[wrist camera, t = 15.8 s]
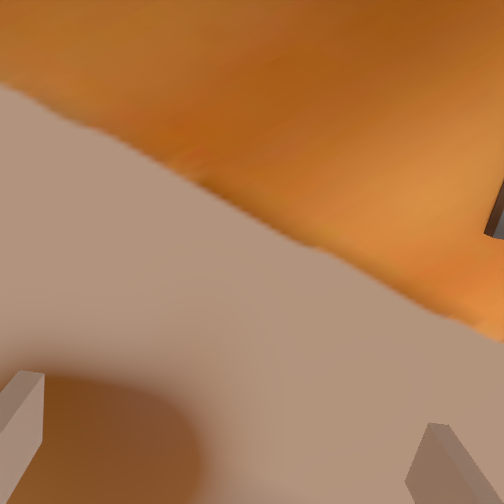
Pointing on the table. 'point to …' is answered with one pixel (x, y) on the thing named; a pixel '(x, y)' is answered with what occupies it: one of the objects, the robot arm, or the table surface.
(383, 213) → the table surface
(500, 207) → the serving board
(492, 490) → the robot arm
